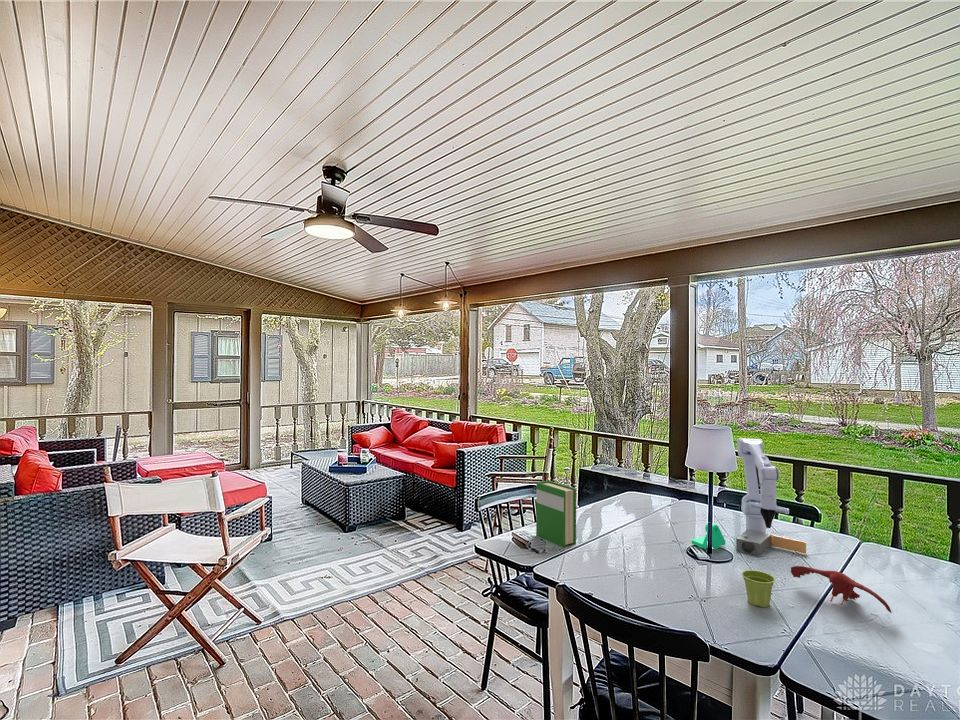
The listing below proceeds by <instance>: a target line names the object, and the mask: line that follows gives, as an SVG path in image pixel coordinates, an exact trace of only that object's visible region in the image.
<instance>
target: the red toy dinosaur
mask: <svg viewBox="0 0 960 720" xmlns="http://www.w3.org/2000/svg"><path fill="white" fill-rule="evenodd" d="M810 573H811V574H818V575H820V576H823V577H825V578H827V579H828V580H829V583H830V584H831V583H832V590H831V595H832V596H831V598H830V599H829V601H830V602H831V603H832V602H833V600H834V598H836V597H838V595H840V594H842V601H841V602H840V603H838V604H839V605H840V606H844V603H845V601H848V600H849V599H850V600H853V601H857V599H859V598H861V595H860V594H858V593H857V592H856V591H855V590H854V588H857V589H859V590H862V591H864V592H866V593H867V594H870V595H871V596H873V598H875V599H876V600H877V601H878V602H880V603H881V604H882V605H883V606H884V607H885V608H886V610H887V611H888V613H890V614H893V613H892V609H891V608H890V606H889V604H888V603H887V601H885V600H884V599H883V598H882V596H880V595H879V594H878V593H876V592H875V591H873V590H872V589H870V588H869V587H866V586H864V585H863V584H860V583H859V582H858V581H857V582H856V581H855V580H854V579H852V578H851V577H850V576H848V575H846V574H845V573H843V572H840V571H836V570H822V569H818V568H813V567H808V566H804V565H803V566H802V565H797V566H792V567H790V574H791V575H792V577H793V578H798V579H801V576H802V577H804V576H805V575H810Z"/></svg>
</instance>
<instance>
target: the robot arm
mask: <svg viewBox="0 0 960 720" xmlns="http://www.w3.org/2000/svg"><path fill="white" fill-rule="evenodd" d="M736 448H737V455H738V457H739V458H741V459H742V462H743V470H744V477H745V484H746V485H745V486H746V491H747V493H746V494H745V495H743V497H742V498H741V511H742V514H744V515H745V531H746V530H748V529H749V530H754V531H758V532H763V533H767V532H766V530H767V529H771V528H772V523H773V520H774V518H775V516H776V514H777V513H782V514H785V515H789V514H790V508H787V507H782V506H779V505H777V481H779V477H780V473H779V469H778V467H777V466H775V465H773V464H772V463H771V461H770V460H769V458H768V456H766V455H764V453H763V450H764V441H763V440H762V439H761V438H741V437H738V439H737V442H736ZM757 474H758V475H757ZM758 479H759V480H758ZM759 484H760V485H759ZM759 486H760V489H759Z"/></svg>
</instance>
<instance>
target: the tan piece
mask: <svg viewBox="0 0 960 720" xmlns="http://www.w3.org/2000/svg"><path fill="white" fill-rule="evenodd" d="M771 547H774V548H779V549H784V550H787V551H792V552H798V553H802V554H805V555H806V554H807V542H806V541H802V540H798V539H794V538H788V537H783V536H778V535H775V534H771Z"/></svg>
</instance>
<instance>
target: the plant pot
mask: <svg viewBox="0 0 960 720" xmlns="http://www.w3.org/2000/svg"><path fill="white" fill-rule="evenodd" d="M741 576H742V577H743V580H744V585H745V591H746V597H747V602H748V603H749V604H751V605H753V606H758V607H760V608H767V607H769V606H770V604H771V598H772V591H773V586H774V583H775V582H776V578H775V577H774V575H771V574H770V573H767V572H764V571H760V570H752V569H748V570H743V571H742V572H741Z"/></svg>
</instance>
